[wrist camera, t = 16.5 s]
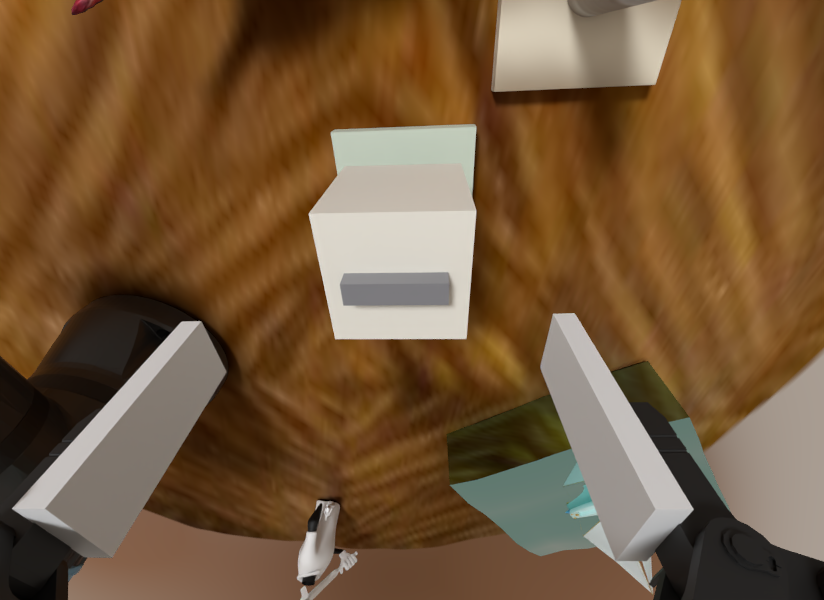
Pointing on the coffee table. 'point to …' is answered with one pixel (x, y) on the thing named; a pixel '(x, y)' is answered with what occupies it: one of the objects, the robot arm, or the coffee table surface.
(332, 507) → the cricket player figurine
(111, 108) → the coffee table surface
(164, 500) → the coffee table surface
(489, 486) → the sailboat water diorama
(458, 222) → the white drawer box
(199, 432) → the coffee table surface
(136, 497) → the robot arm
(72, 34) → the coffee table surface
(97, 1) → the decorative bird figurine
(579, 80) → the post
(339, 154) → the post
